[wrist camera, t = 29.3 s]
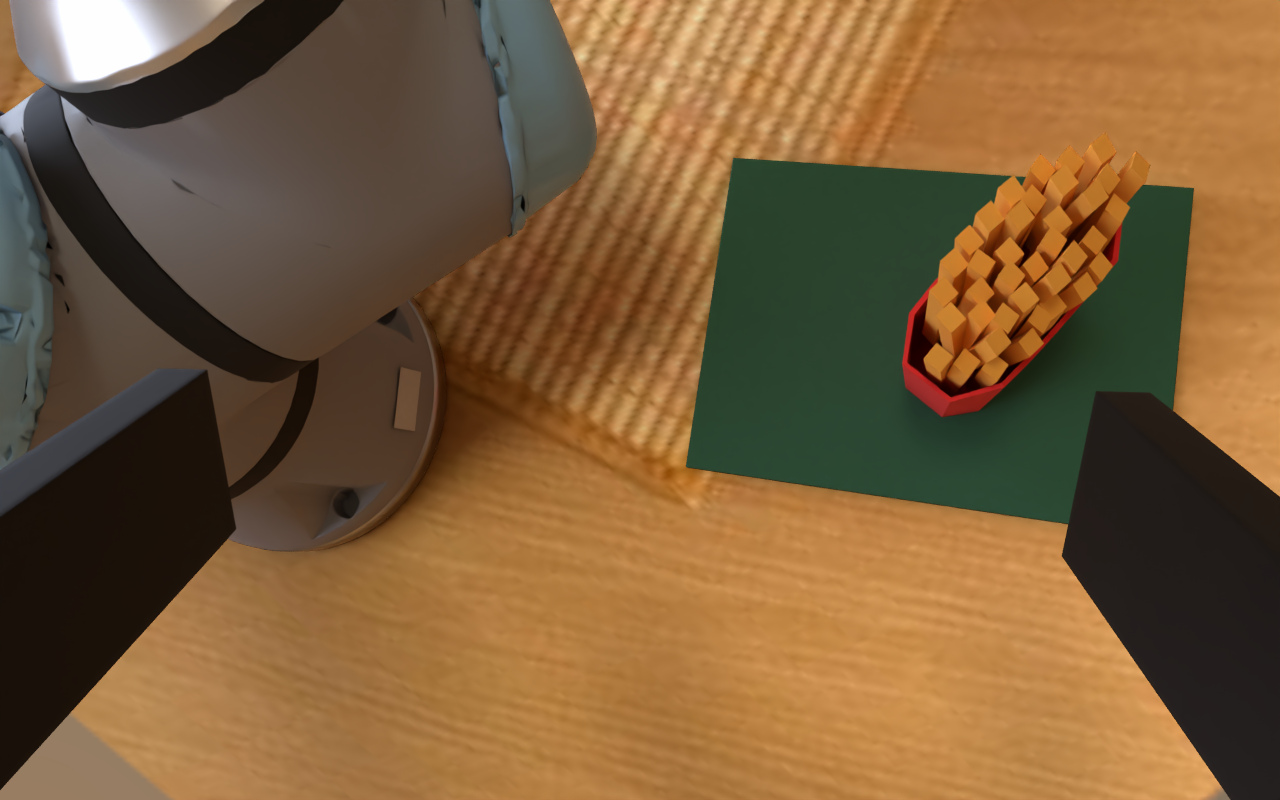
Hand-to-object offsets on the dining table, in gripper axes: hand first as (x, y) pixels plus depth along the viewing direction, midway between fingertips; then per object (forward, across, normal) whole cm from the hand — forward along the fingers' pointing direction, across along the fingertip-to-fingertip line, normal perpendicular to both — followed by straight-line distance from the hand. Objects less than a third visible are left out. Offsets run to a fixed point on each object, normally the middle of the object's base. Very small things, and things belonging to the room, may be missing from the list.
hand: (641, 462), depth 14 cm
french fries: (+27, +14, -7) cm, 31 cm away
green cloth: (+28, +12, -7) cm, 31 cm away
